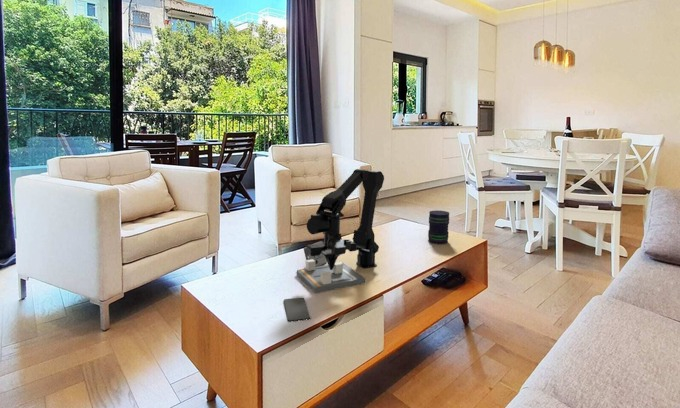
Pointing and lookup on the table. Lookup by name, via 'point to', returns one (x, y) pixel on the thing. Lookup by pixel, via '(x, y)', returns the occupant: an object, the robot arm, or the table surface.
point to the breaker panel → (337, 280)
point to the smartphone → (296, 309)
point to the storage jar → (438, 227)
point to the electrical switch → (318, 259)
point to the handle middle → (338, 268)
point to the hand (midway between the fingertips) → (331, 269)
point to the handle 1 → (310, 265)
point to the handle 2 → (326, 278)
